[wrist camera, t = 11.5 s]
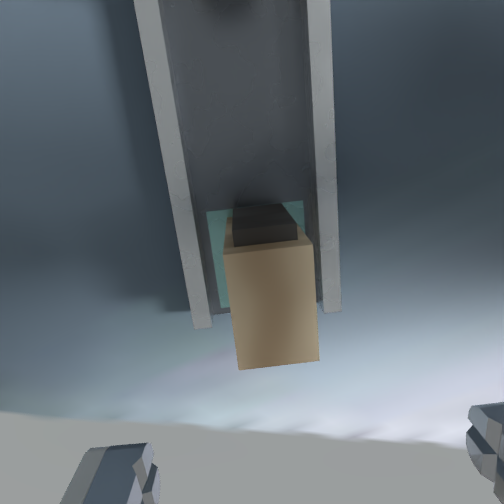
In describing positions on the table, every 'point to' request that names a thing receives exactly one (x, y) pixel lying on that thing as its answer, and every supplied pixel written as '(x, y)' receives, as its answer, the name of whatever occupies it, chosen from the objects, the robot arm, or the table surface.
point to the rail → (244, 128)
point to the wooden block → (270, 287)
